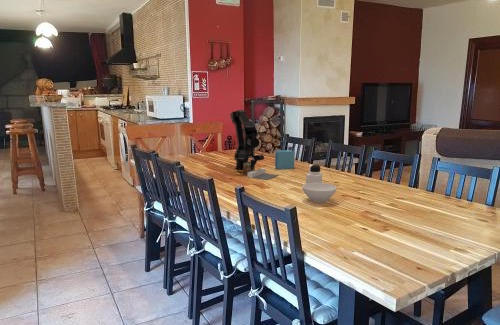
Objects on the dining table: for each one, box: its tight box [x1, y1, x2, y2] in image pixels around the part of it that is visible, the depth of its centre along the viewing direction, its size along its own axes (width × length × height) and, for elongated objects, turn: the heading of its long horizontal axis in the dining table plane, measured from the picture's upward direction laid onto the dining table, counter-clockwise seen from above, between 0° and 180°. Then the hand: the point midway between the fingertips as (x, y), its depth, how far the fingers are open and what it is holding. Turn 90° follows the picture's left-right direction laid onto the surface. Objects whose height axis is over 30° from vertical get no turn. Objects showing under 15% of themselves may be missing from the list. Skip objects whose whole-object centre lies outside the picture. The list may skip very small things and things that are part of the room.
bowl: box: [301, 182, 337, 204], centre depth 181 cm, size 16×16×7 cm
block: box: [242, 160, 256, 174], centre depth 240 cm, size 4×7×6 cm, turn 147°
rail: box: [247, 167, 267, 179], centre depth 234 cm, size 3×16×3 cm, turn 147°
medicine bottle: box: [305, 164, 323, 184], centre depth 207 cm, size 7×7×12 cm
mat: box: [252, 172, 279, 181], centre depth 231 cm, size 10×14×1 cm
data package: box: [274, 149, 296, 170], centre depth 254 cm, size 12×4×12 cm, turn 107°
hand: (249, 169), depth 241 cm, fingers closed on block, 4 cm apart
